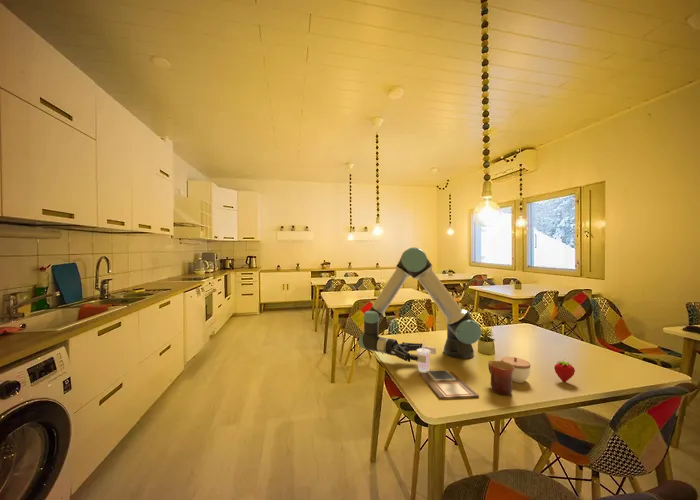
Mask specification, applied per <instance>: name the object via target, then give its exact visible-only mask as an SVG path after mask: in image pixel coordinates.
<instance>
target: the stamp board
mask: <svg viewBox="0 0 700 500" xmlns="http://www.w3.org/2000/svg"><path fill="white" fill-rule="evenodd" d="M419 376H420V377H421V378H422V379H423V381H424V382H425V383H426V384H427V386H428V387H429V388H430V389H431V390H432V391H433V393H434V394H435V396H436V397H437V398H438V399H439V400H457V399H458V400H459V399H479V398H480V395H479V394H478V393H477V392H476V391H475V390H473V389H472V388H471V387H470V386H469V385H468V384H467V383H466V382H464V381H463V380H462V379H461V378H460V377H459V376H458V375H457V374H456V373H454V372H453V371H448V370H447V369H445V370H440V369H439V370H429V371H427V372H419Z"/></svg>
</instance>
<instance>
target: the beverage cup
mask: <svg viewBox="0 0 700 500" xmlns="http://www.w3.org/2000/svg"><path fill="white" fill-rule="evenodd" d="M422 345H423V348H419V349H417V351H416V353H417V355H422V356H426V363H422V362H418V361H417V364H418V365H417V366H418V371H419V373H427V371H430V359H431V353H430V352H431V351H430V350H428V349H424V346H425V339H422Z"/></svg>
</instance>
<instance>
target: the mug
mask: <svg viewBox="0 0 700 500" xmlns="http://www.w3.org/2000/svg"><path fill="white" fill-rule="evenodd" d="M514 368H515V367H514V366H513V365H512V364H510V363H507V362H503V361H501V360H489V361H488V371H489V374H490V388H491V390H492V392H494V393H496V394H498V395H502V396H509V395H512V392H513V388H514V387H513V381H512V374H513V371H514Z"/></svg>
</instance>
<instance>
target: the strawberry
mask: <svg viewBox="0 0 700 500" xmlns="http://www.w3.org/2000/svg"><path fill="white" fill-rule="evenodd" d="M564 360H566V358H565V359H563V360H562V361H561V360H558V361H557V362H556V364H554V367H553V369H554V371H555V374H556V375H557V377H558V378H559V379H560V381H561V382H563V383H566V382H568V381H569V380H570V379H572V377H573V376H574V375H575V372H576V370H575V369H576V368H575V367H574V366H573V365H572V363H570V362H569V361H568V362H565V361H564Z"/></svg>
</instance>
